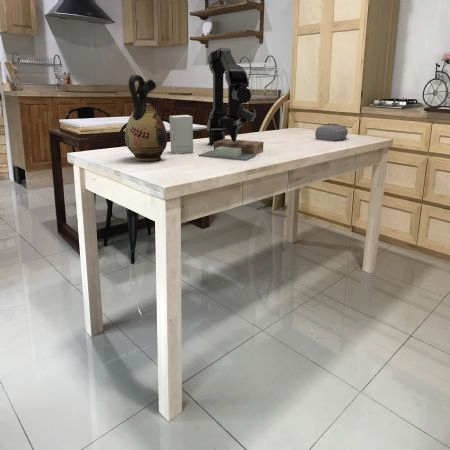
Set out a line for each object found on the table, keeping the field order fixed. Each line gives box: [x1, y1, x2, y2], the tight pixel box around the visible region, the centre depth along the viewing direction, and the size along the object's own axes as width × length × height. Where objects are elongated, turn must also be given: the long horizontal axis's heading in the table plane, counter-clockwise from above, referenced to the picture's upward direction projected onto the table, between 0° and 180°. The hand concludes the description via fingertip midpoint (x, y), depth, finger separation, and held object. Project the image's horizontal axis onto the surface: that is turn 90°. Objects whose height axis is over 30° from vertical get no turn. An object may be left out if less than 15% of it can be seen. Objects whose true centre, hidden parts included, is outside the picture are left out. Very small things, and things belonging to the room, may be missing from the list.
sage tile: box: [215, 147, 241, 157], centre depth 168 cm, size 9×6×2 cm, turn 68°
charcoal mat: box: [198, 150, 257, 162], centre depth 169 cm, size 20×12×1 cm, turn 68°
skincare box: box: [169, 114, 194, 154], centre depth 172 cm, size 8×6×15 cm
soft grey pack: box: [314, 122, 349, 142], centre depth 224 cm, size 15×8×20 cm
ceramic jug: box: [124, 74, 168, 162], centre depth 152 cm, size 17×15×30 cm
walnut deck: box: [213, 138, 264, 156], centre depth 179 cm, size 18×12×4 cm, turn 68°
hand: (233, 141), depth 173 cm, fingers closed
